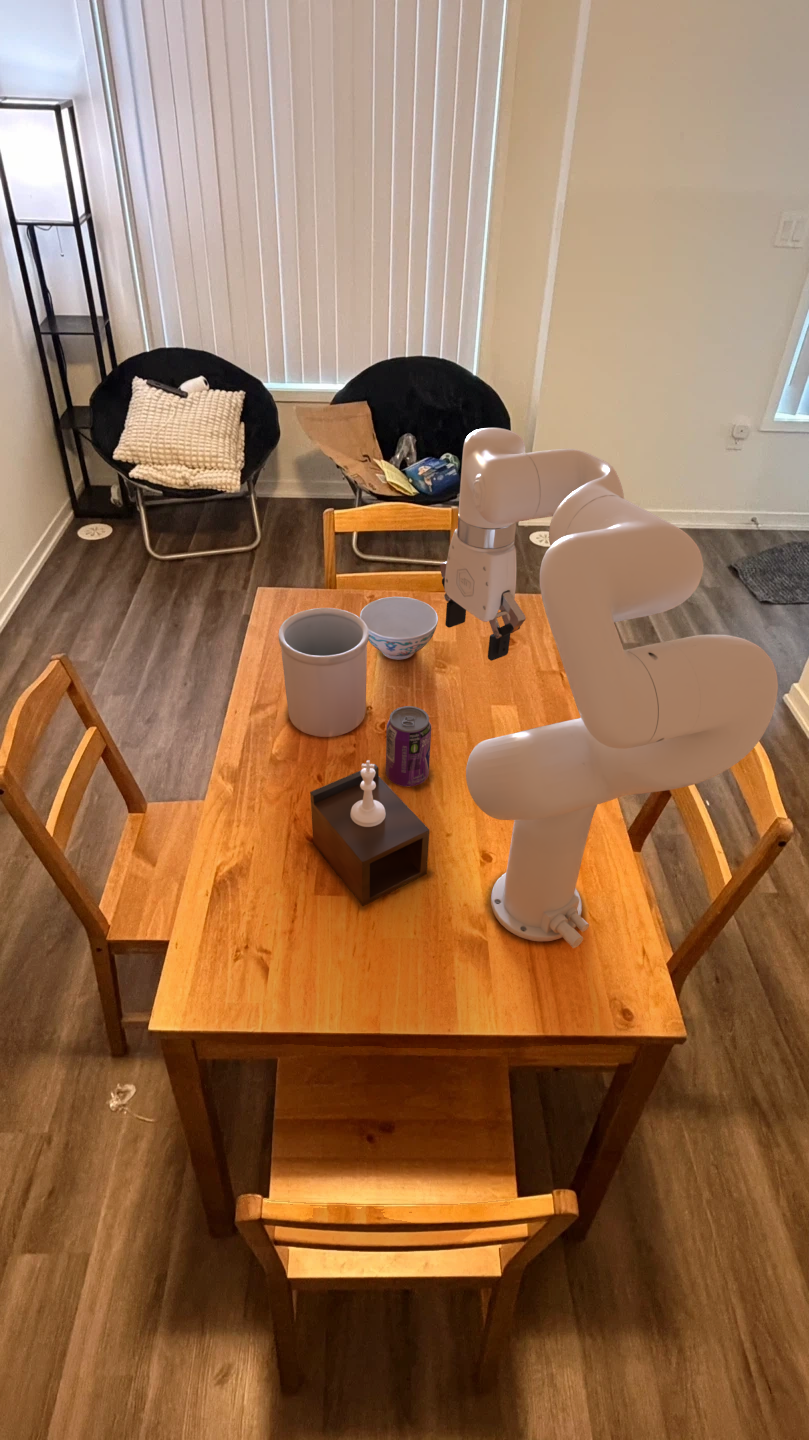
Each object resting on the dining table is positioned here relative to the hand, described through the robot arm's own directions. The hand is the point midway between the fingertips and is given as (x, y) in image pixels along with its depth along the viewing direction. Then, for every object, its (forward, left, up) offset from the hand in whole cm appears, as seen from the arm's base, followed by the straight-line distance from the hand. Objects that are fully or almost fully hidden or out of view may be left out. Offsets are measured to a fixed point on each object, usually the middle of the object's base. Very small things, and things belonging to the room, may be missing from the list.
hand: (475, 640), depth 121 cm
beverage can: (+7, +6, -28) cm, 30 cm away
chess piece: (-5, +21, -19) cm, 29 cm away
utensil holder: (+28, +9, -28) cm, 41 cm away
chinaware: (+38, -13, -28) cm, 49 cm away
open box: (-5, +21, -28) cm, 36 cm away
